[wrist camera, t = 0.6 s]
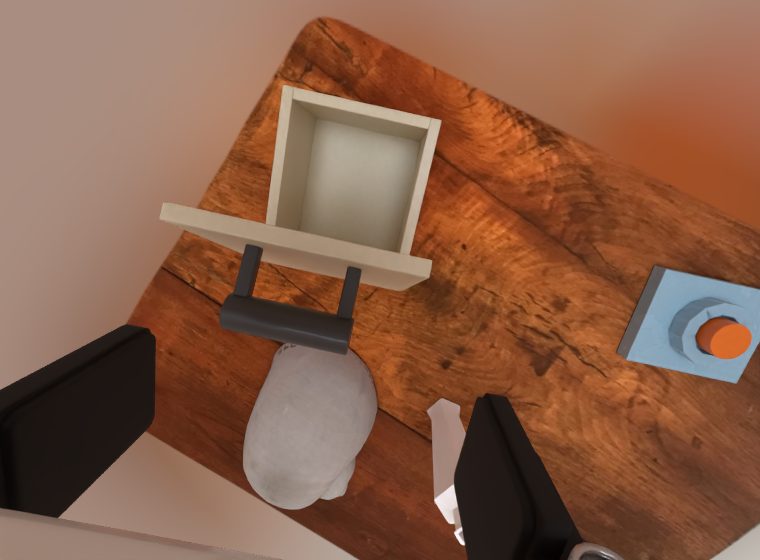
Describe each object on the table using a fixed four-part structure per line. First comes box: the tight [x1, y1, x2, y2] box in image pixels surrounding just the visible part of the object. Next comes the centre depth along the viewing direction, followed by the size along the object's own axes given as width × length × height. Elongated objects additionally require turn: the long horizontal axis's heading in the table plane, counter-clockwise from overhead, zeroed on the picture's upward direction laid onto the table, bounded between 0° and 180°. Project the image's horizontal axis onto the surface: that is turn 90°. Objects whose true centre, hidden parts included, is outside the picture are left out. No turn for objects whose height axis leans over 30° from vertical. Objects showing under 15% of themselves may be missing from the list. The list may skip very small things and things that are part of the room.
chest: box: [266, 85, 442, 255], centre depth 31 cm, size 13×12×9 cm
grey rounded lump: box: [243, 343, 377, 509], centre depth 39 cm, size 15×14×15 cm
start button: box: [696, 317, 752, 359], centre depth 34 cm, size 4×4×2 cm
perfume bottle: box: [427, 398, 466, 545], centre depth 35 cm, size 5×4×15 cm
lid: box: [159, 202, 432, 355], centre depth 21 cm, size 13×12×5 cm
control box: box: [617, 265, 760, 383], centre depth 36 cm, size 10×12×4 cm
